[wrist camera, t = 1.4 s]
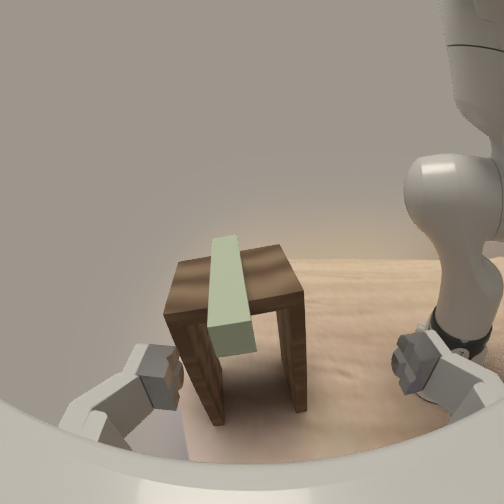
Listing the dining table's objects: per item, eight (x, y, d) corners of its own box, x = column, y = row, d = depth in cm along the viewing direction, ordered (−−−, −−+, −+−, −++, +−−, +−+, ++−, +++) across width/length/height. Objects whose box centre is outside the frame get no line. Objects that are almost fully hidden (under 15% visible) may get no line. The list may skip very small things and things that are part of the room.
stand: (213, 370, 52) (178, 261, 42) (290, 356, 53) (279, 244, 43) (213, 426, 39) (163, 314, 29) (306, 410, 40) (303, 290, 30)
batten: (217, 260, 41) (212, 238, 39) (240, 256, 41) (236, 234, 39) (216, 357, 22) (207, 327, 21) (256, 351, 22) (251, 320, 21)
